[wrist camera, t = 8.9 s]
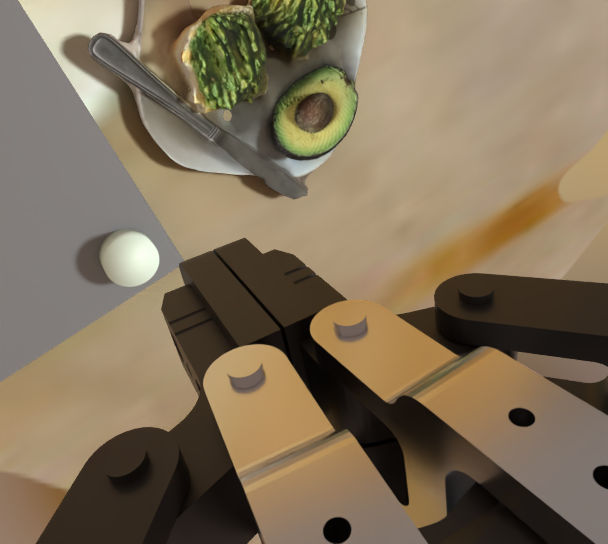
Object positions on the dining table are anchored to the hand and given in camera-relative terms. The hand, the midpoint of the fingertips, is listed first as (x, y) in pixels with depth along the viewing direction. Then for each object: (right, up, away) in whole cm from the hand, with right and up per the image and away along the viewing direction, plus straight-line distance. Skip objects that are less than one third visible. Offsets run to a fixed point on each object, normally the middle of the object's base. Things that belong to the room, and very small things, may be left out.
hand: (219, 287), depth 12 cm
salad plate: (-2, +15, +27) cm, 31 cm away
